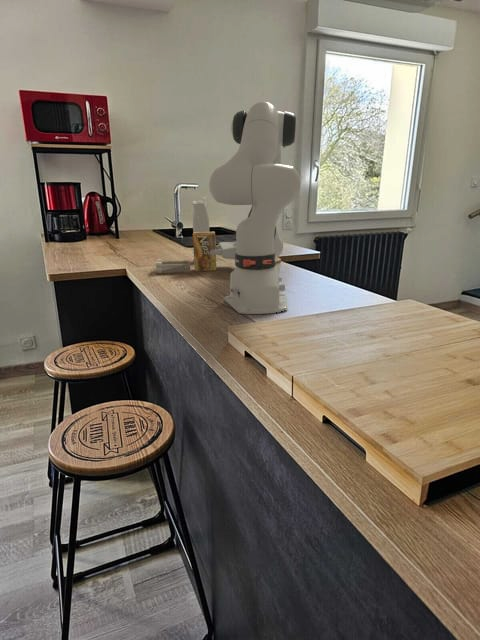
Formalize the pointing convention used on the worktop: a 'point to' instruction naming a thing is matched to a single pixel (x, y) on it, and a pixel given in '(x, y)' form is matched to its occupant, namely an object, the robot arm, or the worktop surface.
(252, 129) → the robot arm
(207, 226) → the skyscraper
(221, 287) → the worktop surface
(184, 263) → the channel
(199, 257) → the candy box
